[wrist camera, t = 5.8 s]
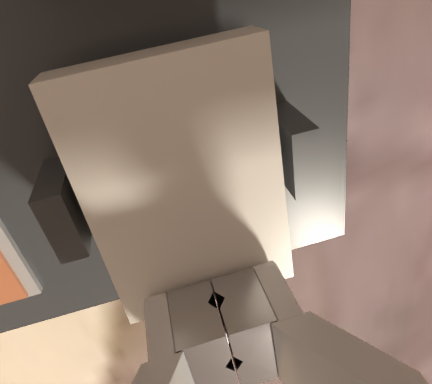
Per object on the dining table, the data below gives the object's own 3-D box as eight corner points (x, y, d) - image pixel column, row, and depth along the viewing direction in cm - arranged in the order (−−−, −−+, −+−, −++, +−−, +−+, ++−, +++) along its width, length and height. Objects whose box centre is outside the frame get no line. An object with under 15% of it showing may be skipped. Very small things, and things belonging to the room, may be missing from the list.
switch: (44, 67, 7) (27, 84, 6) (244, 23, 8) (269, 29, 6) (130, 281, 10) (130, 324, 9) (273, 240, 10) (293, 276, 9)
